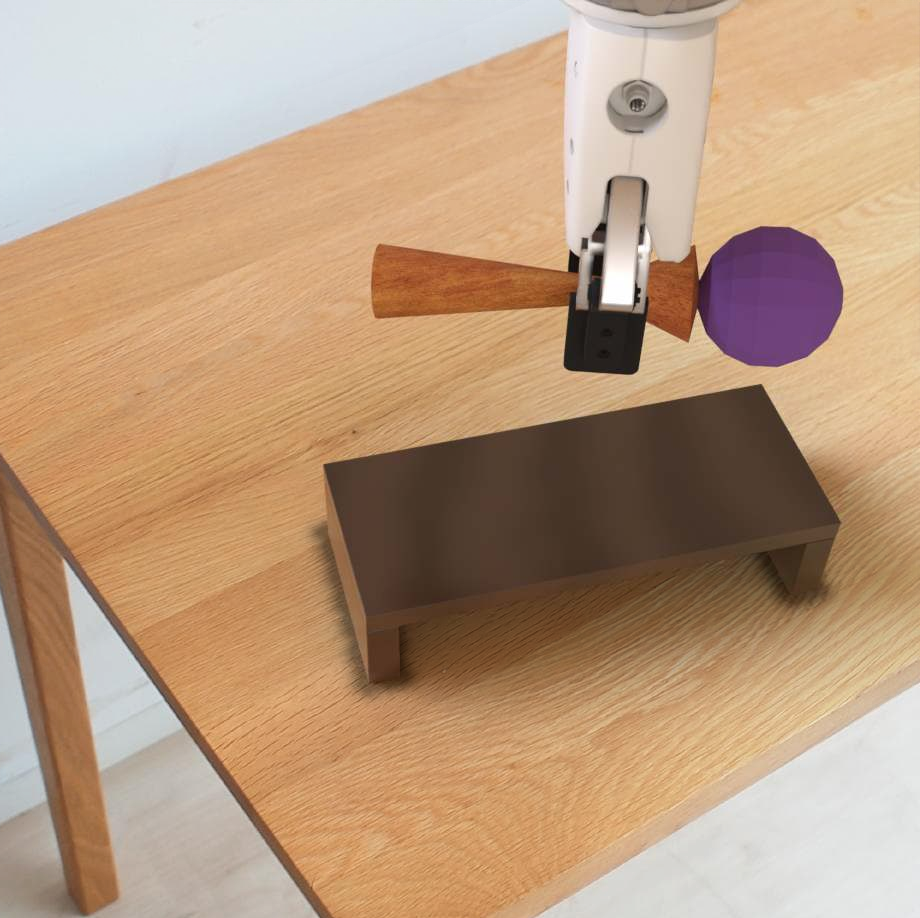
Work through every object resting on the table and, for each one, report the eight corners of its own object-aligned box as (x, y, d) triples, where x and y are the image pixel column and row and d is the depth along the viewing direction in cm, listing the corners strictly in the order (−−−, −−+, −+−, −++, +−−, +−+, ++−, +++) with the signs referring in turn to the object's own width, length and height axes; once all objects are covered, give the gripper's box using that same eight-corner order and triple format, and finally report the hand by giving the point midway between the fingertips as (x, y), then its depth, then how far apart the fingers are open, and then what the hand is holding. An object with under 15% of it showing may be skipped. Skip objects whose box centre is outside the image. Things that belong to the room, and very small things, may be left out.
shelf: (742, 458, 82) (761, 383, 77) (816, 595, 76) (841, 521, 71) (328, 538, 78) (322, 463, 74) (369, 689, 72) (365, 617, 67)
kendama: (386, 190, 65) (846, 204, 62) (394, 305, 68) (828, 325, 65) (360, 253, 60) (855, 272, 57) (370, 374, 64) (836, 398, 61)
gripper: (774, 76, 44) (691, 471, 58) (746, -173, 56) (682, 208, 69) (530, 63, 45) (505, 458, 59) (551, -182, 56) (526, 198, 70)
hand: (601, 319), depth 64 cm, fingers closed on kendama, 5 cm apart
